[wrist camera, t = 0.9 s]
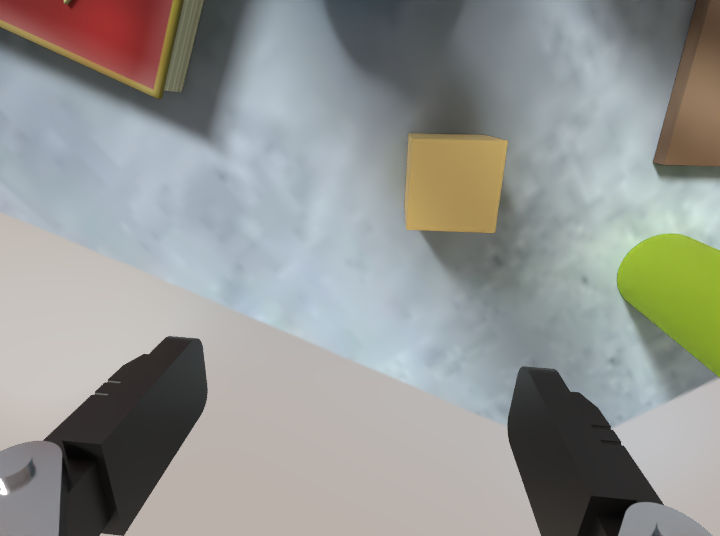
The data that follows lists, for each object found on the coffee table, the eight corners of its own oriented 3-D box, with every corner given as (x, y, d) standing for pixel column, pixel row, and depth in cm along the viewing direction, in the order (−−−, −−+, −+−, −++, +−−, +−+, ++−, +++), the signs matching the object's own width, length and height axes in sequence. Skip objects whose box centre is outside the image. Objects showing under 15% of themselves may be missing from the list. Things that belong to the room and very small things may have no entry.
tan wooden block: (408, 133, 27) (411, 138, 22) (484, 134, 27) (508, 141, 21) (404, 206, 29) (406, 229, 23) (475, 209, 29) (495, 233, 23)
